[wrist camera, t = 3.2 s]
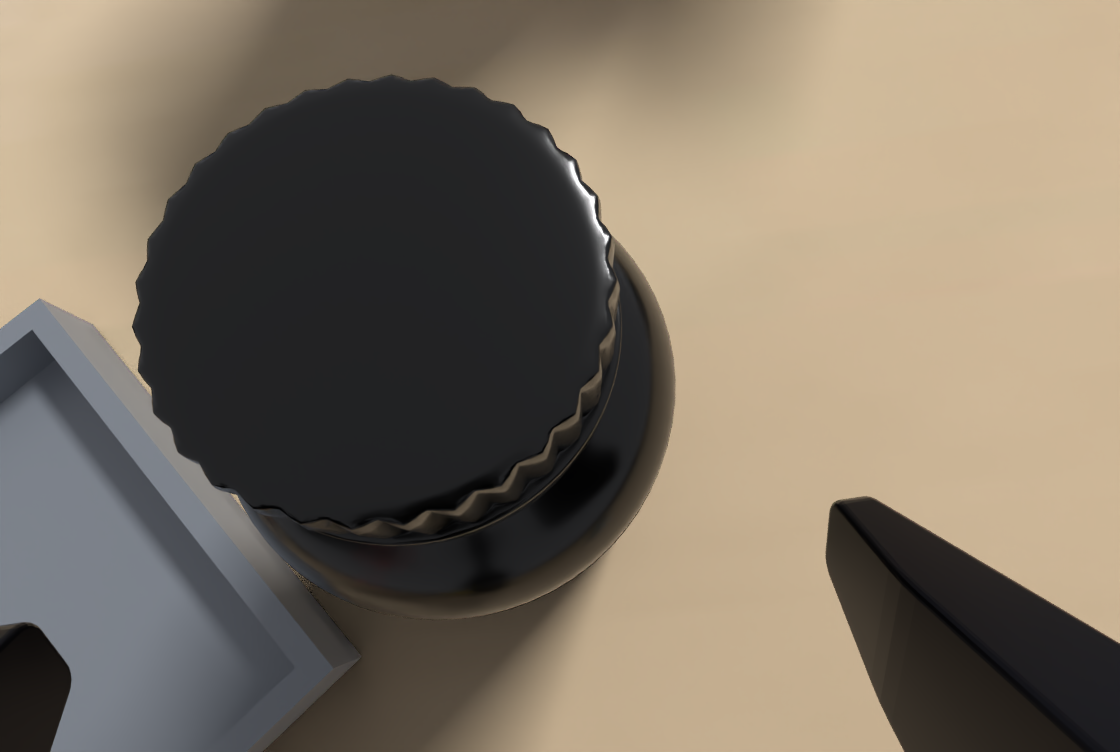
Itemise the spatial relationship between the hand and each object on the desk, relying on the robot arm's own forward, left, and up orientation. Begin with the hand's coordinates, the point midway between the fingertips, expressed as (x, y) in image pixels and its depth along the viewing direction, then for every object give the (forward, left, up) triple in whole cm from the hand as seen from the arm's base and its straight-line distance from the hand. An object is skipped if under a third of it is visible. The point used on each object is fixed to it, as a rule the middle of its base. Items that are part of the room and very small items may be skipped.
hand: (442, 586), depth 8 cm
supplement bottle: (+2, +2, -10) cm, 11 cm away
